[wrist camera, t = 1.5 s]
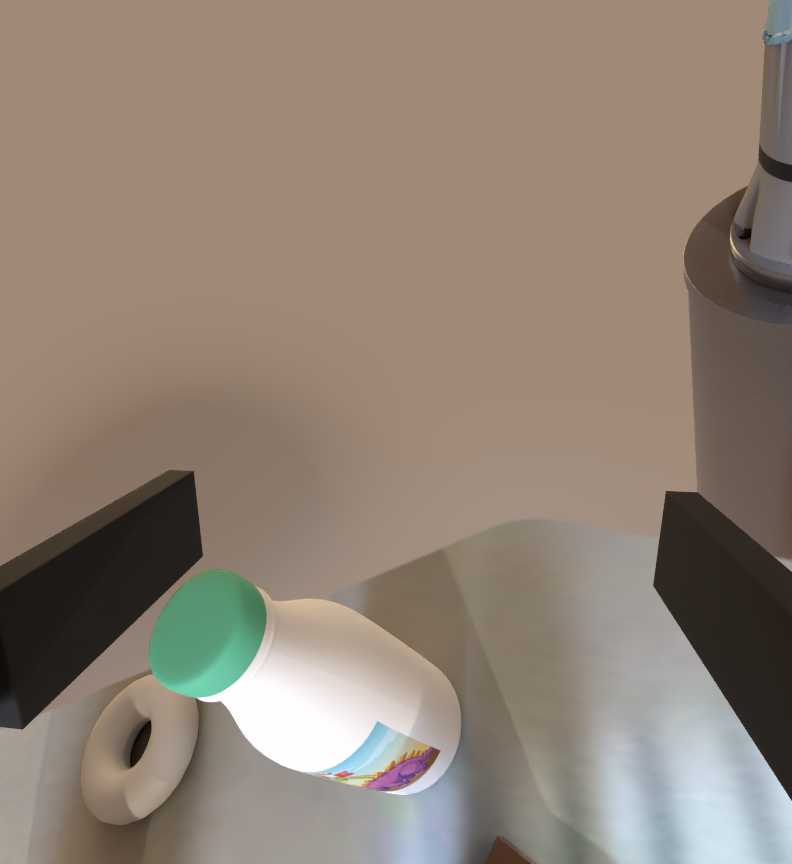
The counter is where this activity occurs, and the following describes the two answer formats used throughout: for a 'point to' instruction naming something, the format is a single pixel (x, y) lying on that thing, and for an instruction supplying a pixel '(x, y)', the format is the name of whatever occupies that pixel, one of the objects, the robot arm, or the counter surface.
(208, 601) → the milk bottle
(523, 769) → the counter surface
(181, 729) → the donut
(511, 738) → the counter surface
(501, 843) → the post stand
